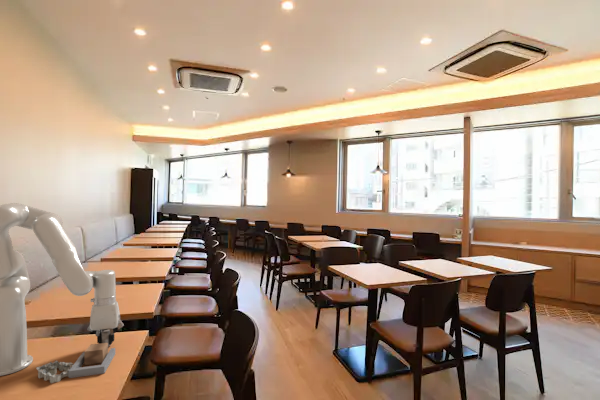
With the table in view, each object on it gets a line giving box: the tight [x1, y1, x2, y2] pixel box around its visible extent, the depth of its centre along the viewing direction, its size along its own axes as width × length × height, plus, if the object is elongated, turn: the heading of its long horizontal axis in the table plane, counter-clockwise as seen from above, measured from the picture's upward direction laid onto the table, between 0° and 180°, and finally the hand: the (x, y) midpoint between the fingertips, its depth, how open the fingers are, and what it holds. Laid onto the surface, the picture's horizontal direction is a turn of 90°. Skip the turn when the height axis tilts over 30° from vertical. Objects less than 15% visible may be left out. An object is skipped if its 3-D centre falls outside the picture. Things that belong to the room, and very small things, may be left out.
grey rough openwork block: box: [36, 360, 74, 384], centre depth 111 cm, size 11×8×4 cm
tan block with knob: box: [84, 329, 111, 366], centre depth 125 cm, size 6×16×6 cm, turn 15°
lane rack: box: [68, 347, 116, 379], centre depth 118 cm, size 11×14×2 cm
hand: (106, 343), depth 131 cm, fingers closed on tan block with knob, 3 cm apart
